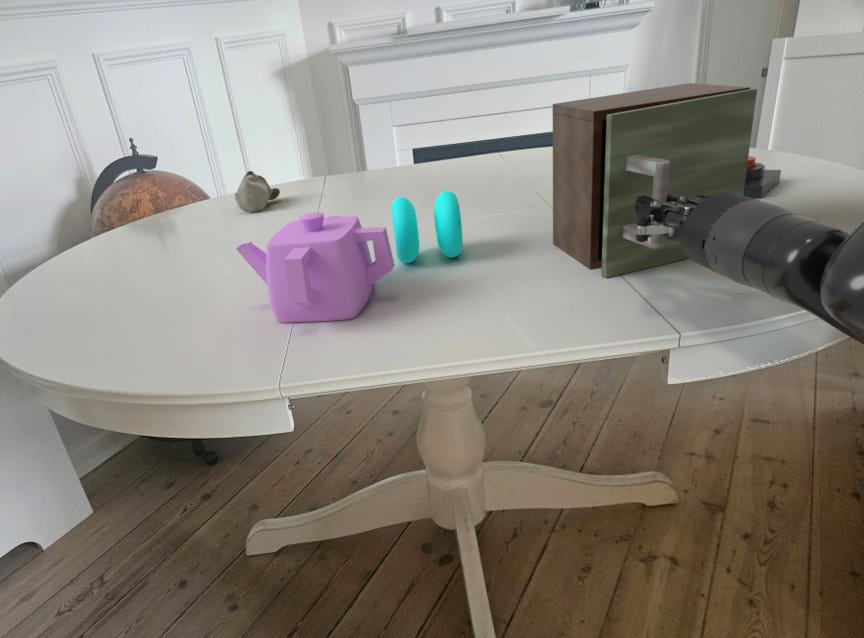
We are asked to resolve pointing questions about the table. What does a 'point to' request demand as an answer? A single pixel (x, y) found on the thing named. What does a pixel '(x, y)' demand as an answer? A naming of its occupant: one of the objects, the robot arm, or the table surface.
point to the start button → (751, 162)
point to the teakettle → (320, 267)
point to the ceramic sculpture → (254, 193)
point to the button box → (760, 181)
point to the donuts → (445, 227)
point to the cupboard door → (669, 168)
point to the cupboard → (596, 162)
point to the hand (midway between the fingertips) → (648, 202)
